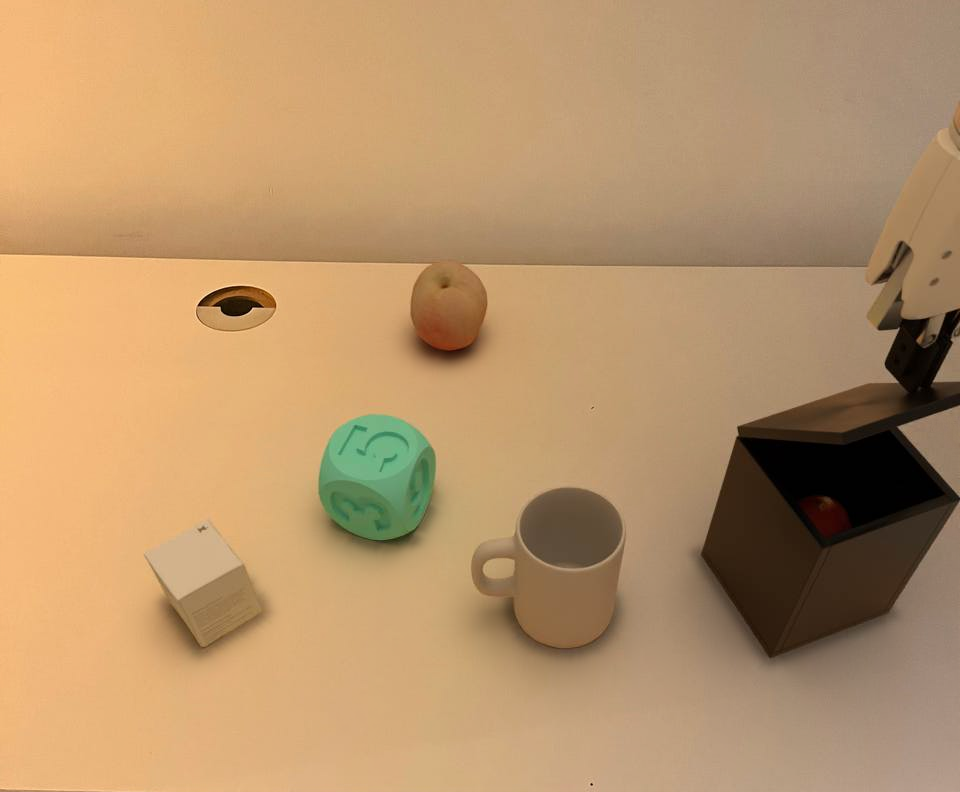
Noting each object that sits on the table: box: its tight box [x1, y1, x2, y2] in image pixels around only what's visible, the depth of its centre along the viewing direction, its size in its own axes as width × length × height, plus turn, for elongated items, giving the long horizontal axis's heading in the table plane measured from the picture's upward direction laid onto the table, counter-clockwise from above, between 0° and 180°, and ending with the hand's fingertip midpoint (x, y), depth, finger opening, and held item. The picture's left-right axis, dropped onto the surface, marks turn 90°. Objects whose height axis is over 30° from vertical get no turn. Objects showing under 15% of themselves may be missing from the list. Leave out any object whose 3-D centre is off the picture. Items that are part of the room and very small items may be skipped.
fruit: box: [410, 259, 489, 351], centre depth 95 cm, size 8×8×8 cm
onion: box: [797, 495, 852, 538], centre depth 78 cm, size 6×6×8 cm
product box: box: [143, 518, 263, 648], centre depth 78 cm, size 6×6×7 cm
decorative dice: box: [317, 413, 437, 541], centre depth 83 cm, size 8×8×8 cm
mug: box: [470, 485, 627, 649], centre depth 76 cm, size 12×8×11 cm
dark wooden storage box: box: [700, 426, 960, 659], centre depth 75 cm, size 12×12×15 cm
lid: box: [736, 381, 960, 445], centre depth 65 cm, size 12×12×1 cm
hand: (906, 376), depth 65 cm, fingers closed
